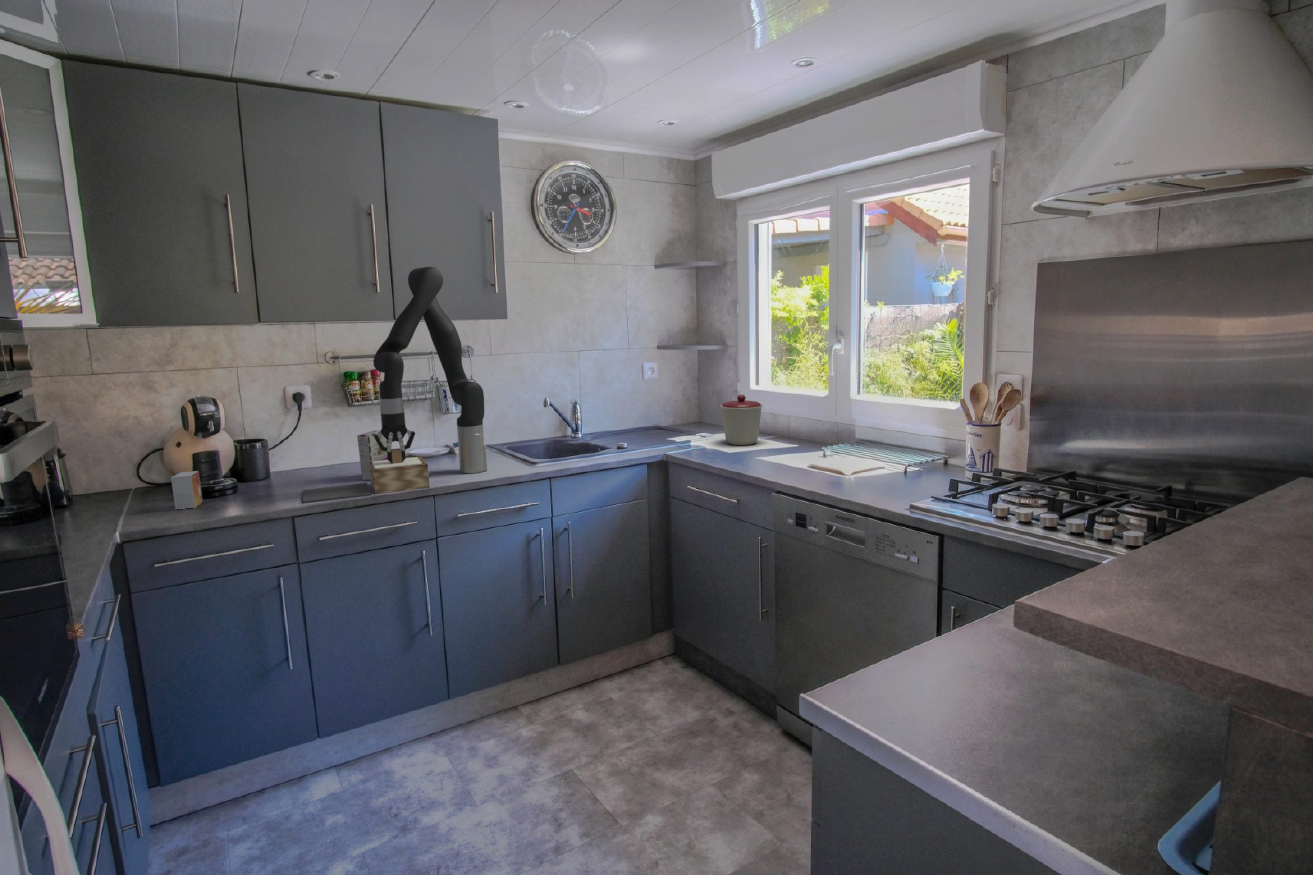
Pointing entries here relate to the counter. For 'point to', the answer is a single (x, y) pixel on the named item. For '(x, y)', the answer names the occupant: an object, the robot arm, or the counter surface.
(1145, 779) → the counter surface
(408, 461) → the cover plate
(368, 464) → the candy bar box
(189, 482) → the small box
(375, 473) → the wooden box
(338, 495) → the rubber mat
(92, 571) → the counter surface
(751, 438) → the canister
